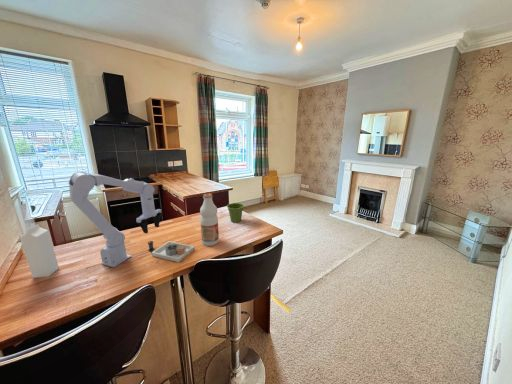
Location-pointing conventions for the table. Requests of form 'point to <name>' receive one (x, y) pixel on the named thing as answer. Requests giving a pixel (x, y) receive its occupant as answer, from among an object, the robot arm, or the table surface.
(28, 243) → the milk
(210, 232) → the fruit juice
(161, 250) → the tray
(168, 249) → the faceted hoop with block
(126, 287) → the table surface
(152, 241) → the knob
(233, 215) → the plant pot
